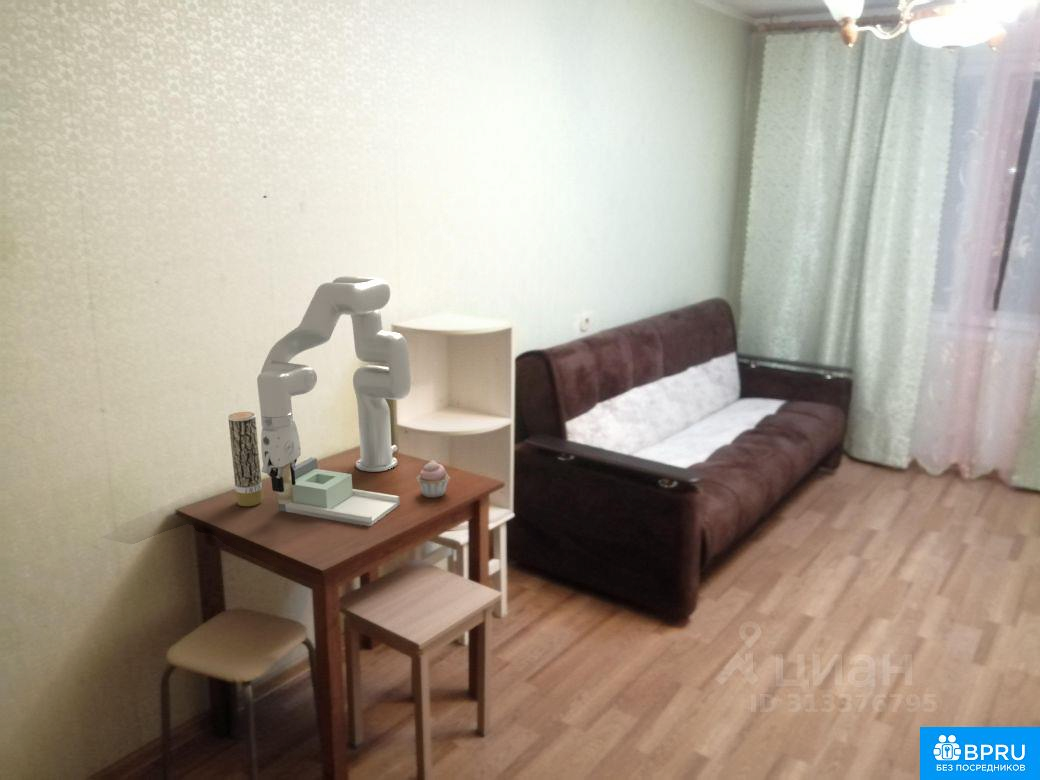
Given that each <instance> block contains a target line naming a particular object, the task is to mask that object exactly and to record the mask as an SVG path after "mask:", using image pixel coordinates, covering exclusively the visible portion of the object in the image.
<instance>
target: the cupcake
mask: <svg viewBox="0 0 1040 780" xmlns="http://www.w3.org/2000/svg"><path fill="white" fill-rule="evenodd" d="M416 480H417V482H418V483H419V486H420V490H421V493H422V495H423V496H424V497H427V498H430V499H431V498H433V499H434V498H440V497H442V496H444V495H445V494H446V490H447V485H448V483H449V480H450V476H449V474H448V473H447V471H446V469H445V467H444V466H443V465H442V464H439V463H438V462H436V460H434V459H432V460H430V461H429V462H428V463H425V465H424V466H423V469H421V470H420V474H419V475H418V476H417V477H416Z"/></svg>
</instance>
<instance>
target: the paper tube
mask: <svg viewBox="0 0 1040 780" xmlns="http://www.w3.org/2000/svg"><path fill="white" fill-rule="evenodd" d="M227 416H228V426H229V427H228V429H229V436H230V437H229V439H230V448H231V456H232V457H231V458H232V467H233V469H232V470H233V479H234V485H235V486H234V487H235V496H236V504H238V505H239V506H241V507H254V506H257V505H260V504H261V503H262V502H263V500H264V496H263V484H262V474H261V472H262V471H261V464H260V463H261V462H260V452H259V450H260V449H259V440H258V439H259V438H258V430H257V420H256V419H257V417H256V413H255V412H253V411H240V412H235V413H234V412H233V413H231V414H228V415H227Z"/></svg>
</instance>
